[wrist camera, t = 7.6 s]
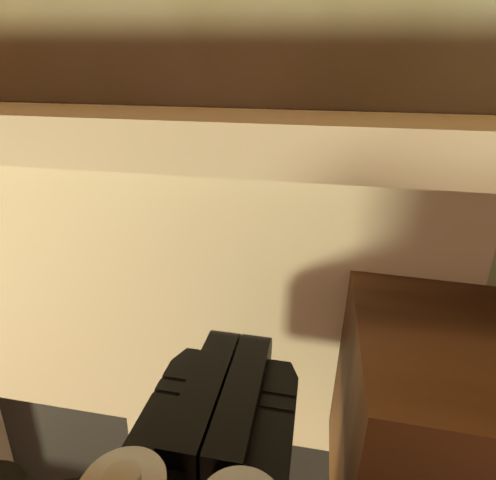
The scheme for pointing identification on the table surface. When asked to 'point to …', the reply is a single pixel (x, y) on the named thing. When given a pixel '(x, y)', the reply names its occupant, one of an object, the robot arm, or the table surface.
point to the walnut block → (415, 381)
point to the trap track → (211, 251)
